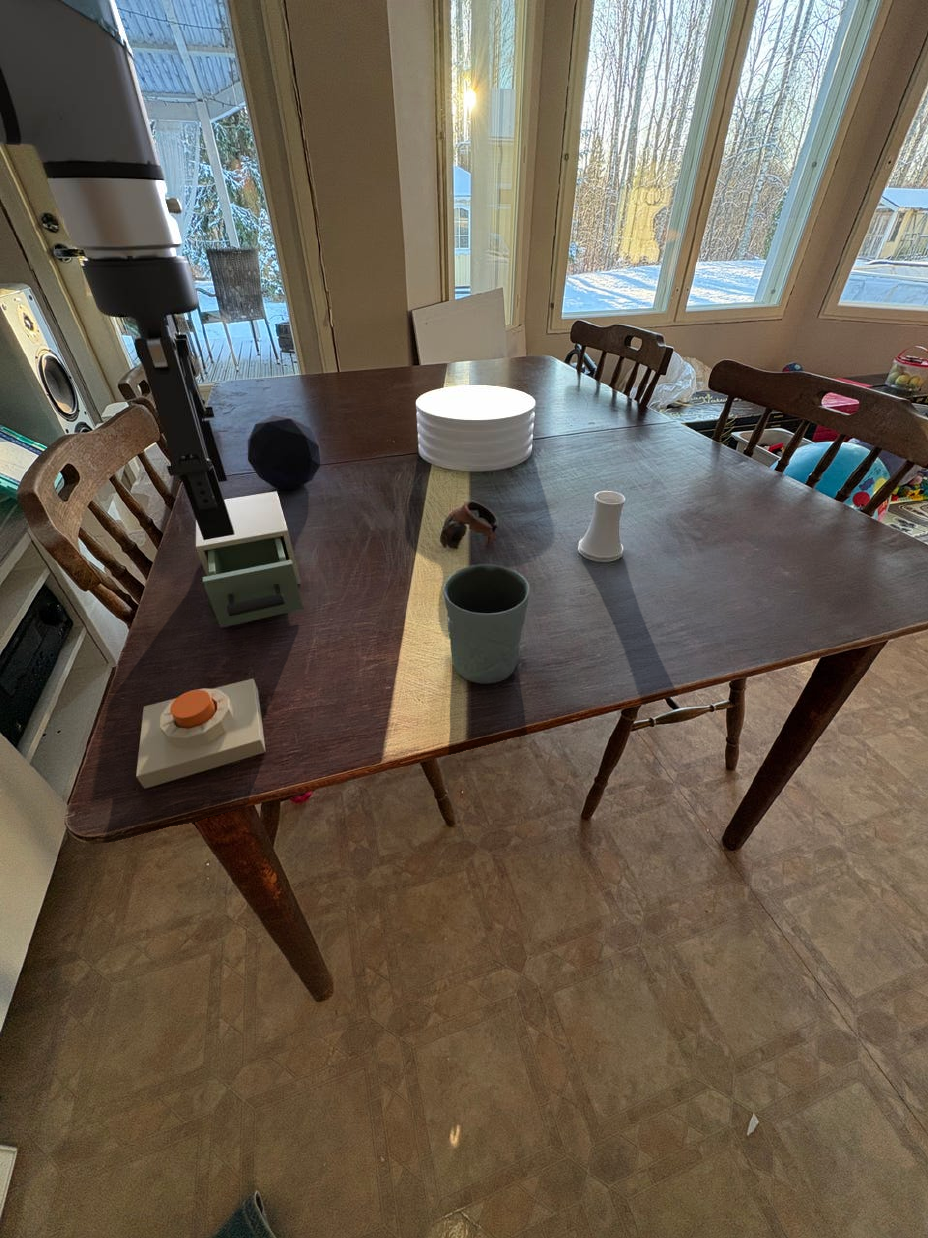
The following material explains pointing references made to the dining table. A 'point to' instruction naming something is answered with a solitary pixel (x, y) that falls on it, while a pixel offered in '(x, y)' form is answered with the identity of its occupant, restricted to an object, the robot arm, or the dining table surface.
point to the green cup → (485, 620)
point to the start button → (193, 709)
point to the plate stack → (475, 427)
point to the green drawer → (251, 582)
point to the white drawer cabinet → (250, 526)
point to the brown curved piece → (461, 516)
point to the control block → (200, 736)
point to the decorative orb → (283, 452)
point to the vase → (604, 529)
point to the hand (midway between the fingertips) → (216, 506)
